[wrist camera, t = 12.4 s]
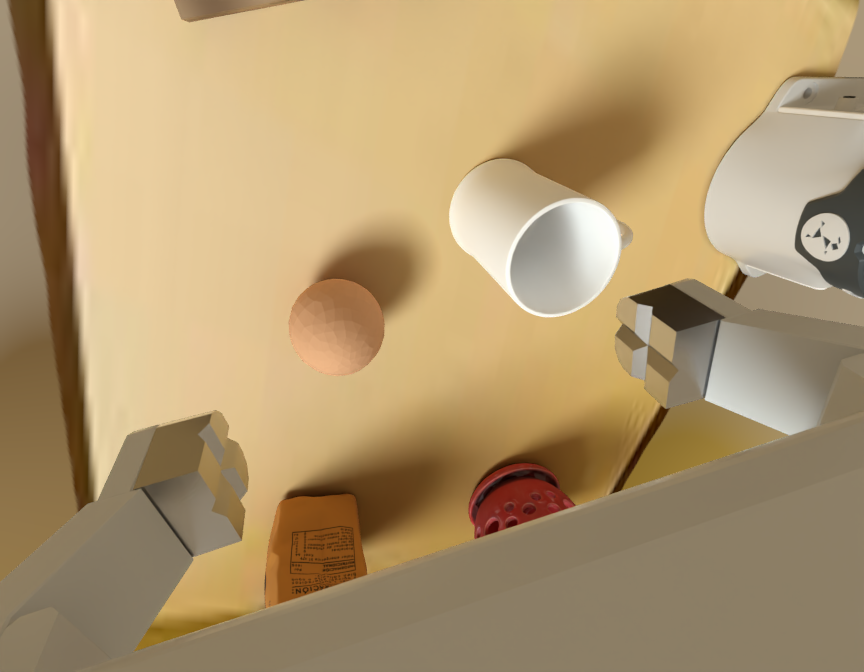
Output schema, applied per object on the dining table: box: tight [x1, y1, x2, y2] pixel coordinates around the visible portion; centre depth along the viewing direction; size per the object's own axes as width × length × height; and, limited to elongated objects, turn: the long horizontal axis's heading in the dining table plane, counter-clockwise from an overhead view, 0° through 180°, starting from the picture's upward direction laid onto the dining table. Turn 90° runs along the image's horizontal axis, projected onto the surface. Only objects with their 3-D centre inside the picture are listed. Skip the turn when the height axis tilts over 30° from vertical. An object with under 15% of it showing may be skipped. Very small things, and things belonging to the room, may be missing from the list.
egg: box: [289, 279, 384, 376], centre depth 37 cm, size 7×7×8 cm
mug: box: [449, 159, 633, 317], centre depth 36 cm, size 12×8×12 cm
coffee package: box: [265, 494, 367, 608], centre depth 44 cm, size 10×12×22 cm
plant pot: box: [469, 463, 576, 539], centre depth 54 cm, size 13×13×12 cm
